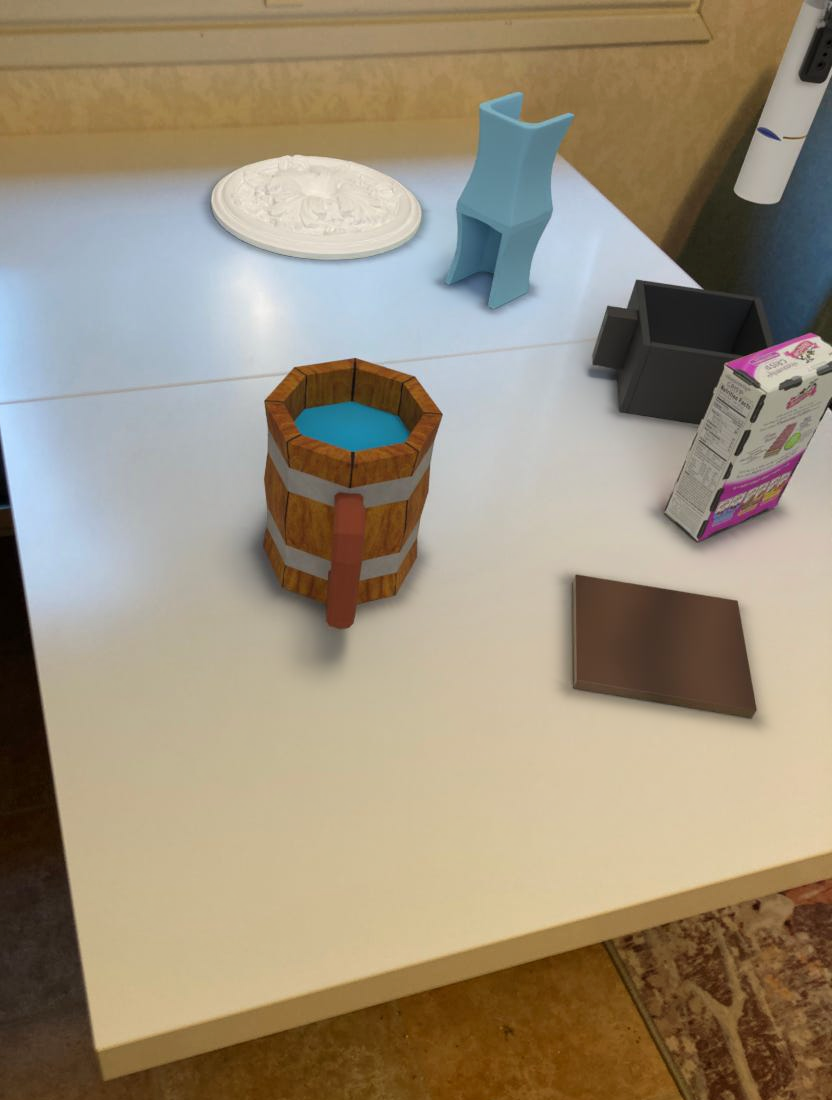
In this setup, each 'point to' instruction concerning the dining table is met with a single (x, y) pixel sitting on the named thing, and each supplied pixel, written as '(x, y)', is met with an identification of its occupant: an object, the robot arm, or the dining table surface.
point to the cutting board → (660, 646)
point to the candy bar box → (752, 435)
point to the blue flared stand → (506, 197)
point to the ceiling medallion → (316, 208)
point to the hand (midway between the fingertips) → (805, 70)
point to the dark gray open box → (677, 346)
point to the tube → (783, 118)
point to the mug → (346, 481)
